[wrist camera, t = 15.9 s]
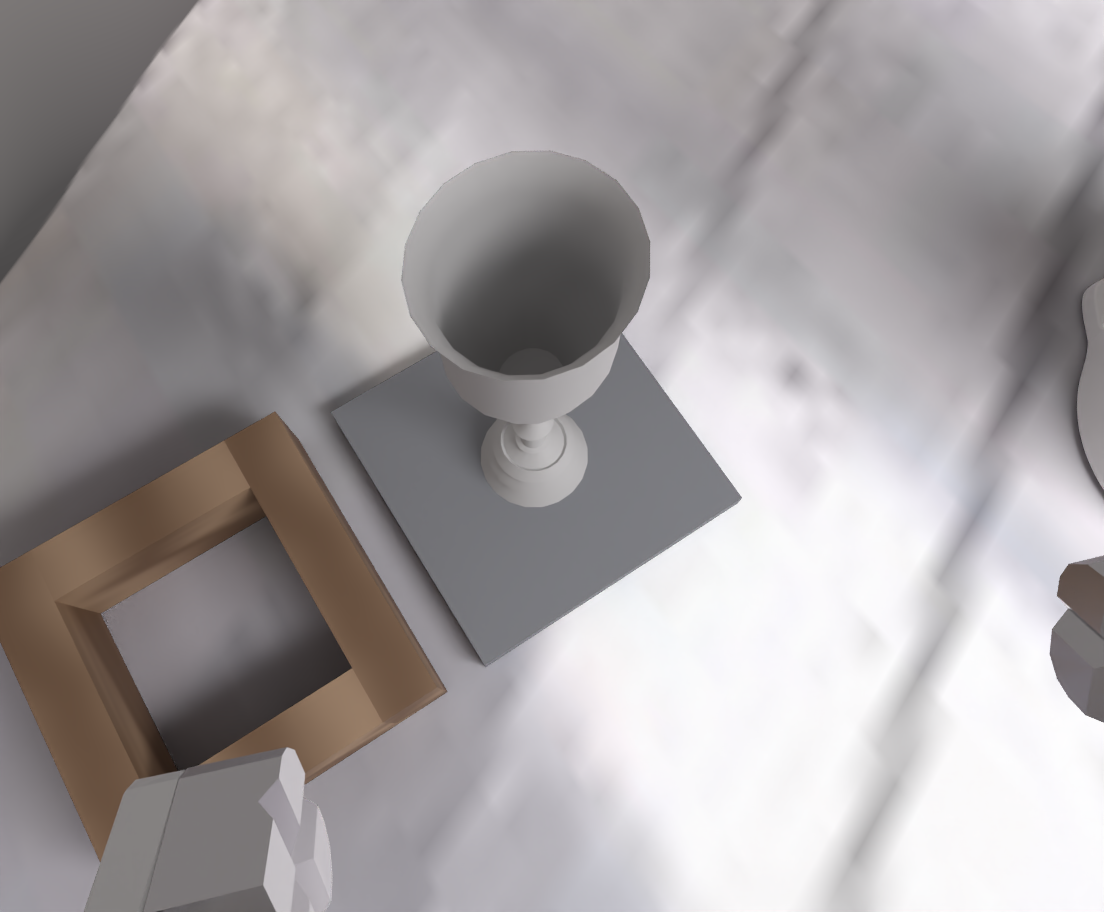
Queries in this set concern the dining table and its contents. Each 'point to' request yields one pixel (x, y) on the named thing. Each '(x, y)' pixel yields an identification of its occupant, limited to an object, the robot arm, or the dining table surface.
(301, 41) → the dining table surface
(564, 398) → the chalice
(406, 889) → the dining table surface
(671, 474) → the grey mat
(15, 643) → the walnut holder
